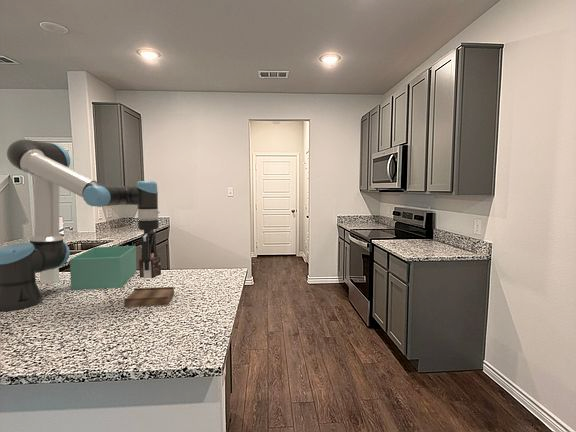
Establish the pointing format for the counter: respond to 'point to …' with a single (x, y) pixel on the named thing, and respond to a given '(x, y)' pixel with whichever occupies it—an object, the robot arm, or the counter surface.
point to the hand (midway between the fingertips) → (150, 275)
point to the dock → (149, 297)
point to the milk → (49, 276)
